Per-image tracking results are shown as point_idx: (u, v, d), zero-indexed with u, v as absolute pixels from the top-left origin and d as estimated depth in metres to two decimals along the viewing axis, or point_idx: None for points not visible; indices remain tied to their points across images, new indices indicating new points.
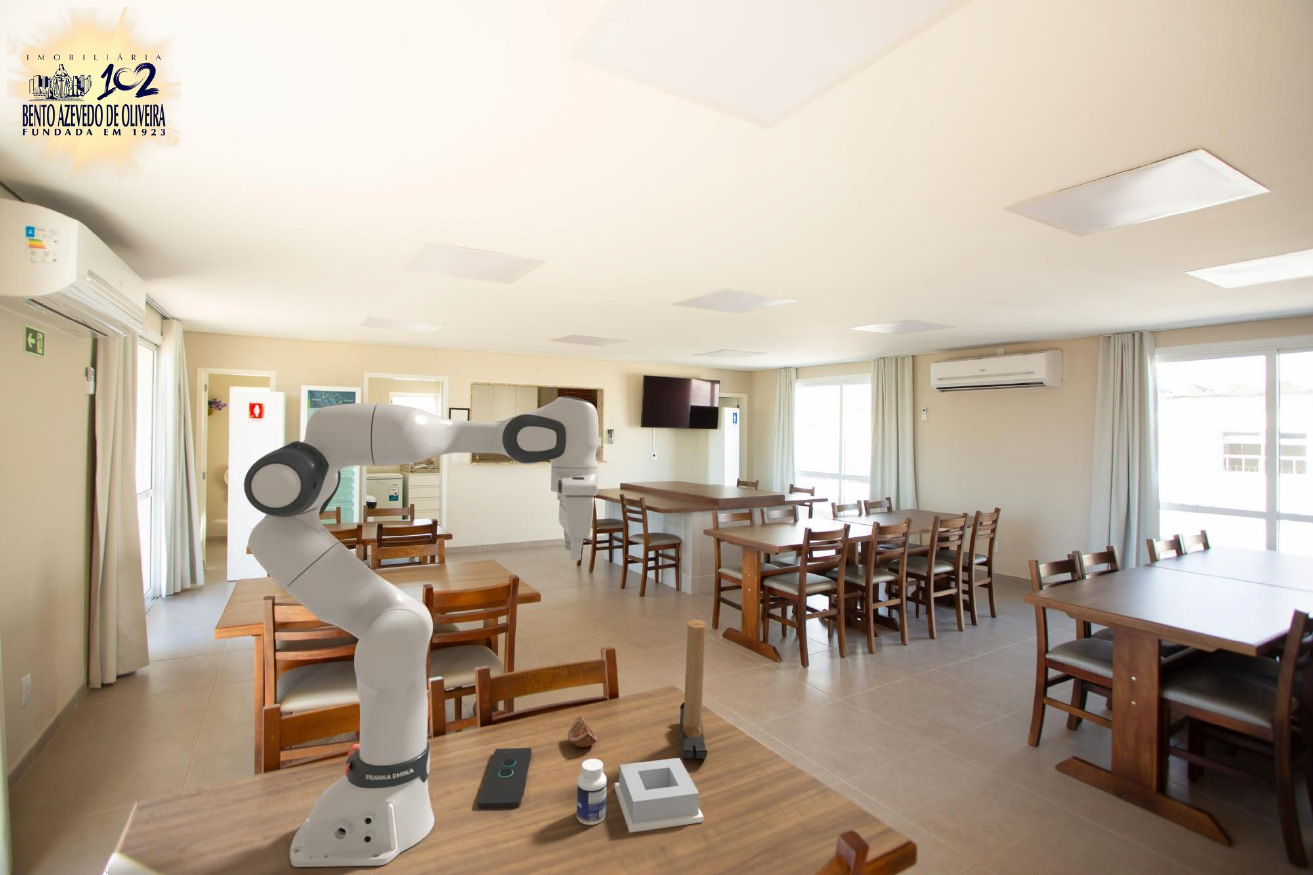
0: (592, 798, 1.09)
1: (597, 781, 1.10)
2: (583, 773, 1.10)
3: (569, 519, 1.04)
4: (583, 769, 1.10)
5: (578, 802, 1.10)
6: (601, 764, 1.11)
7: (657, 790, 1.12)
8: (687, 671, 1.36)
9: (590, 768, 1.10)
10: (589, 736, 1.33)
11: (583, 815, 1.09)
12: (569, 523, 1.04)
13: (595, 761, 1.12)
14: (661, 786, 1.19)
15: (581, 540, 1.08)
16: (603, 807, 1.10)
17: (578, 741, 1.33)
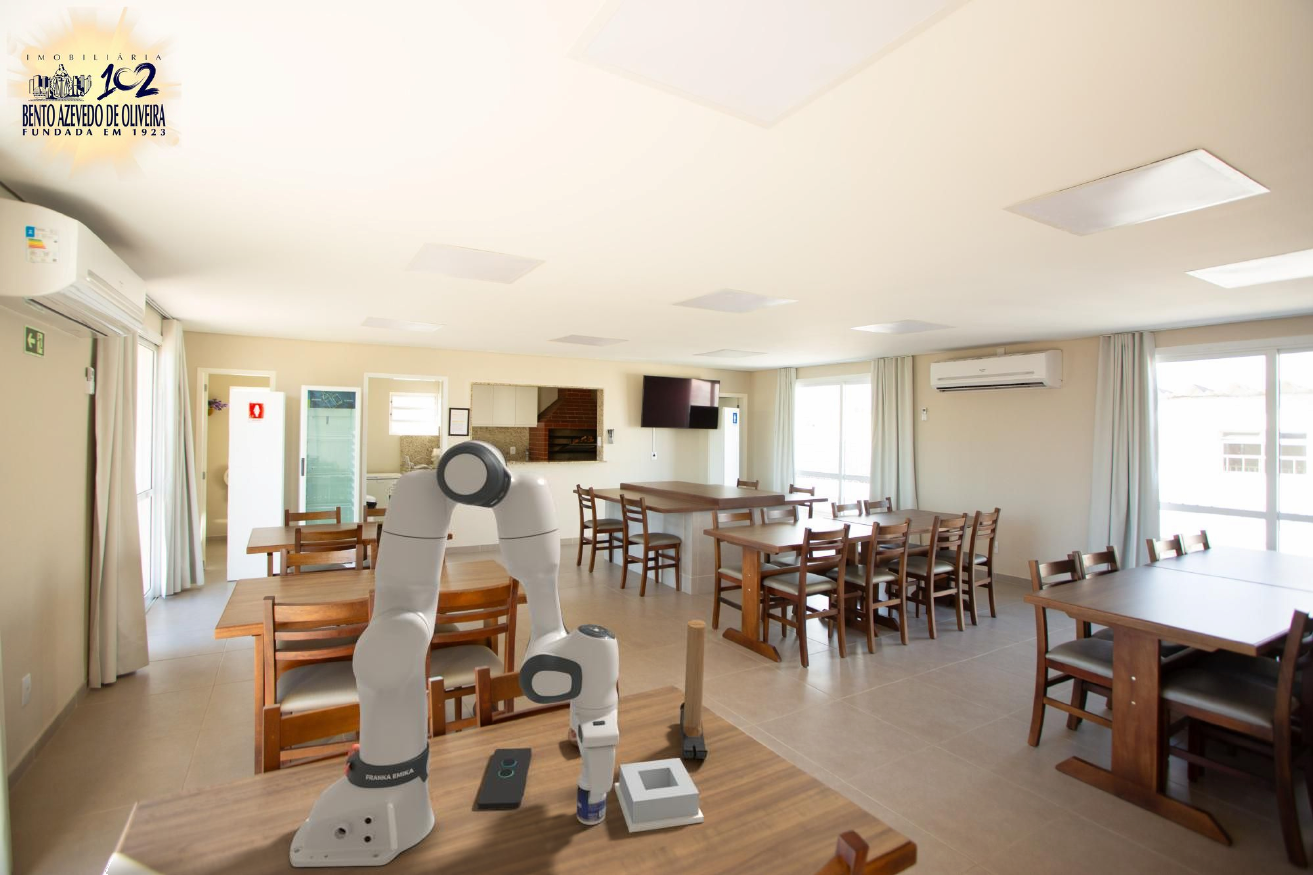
0: None
1: None
2: (583, 773, 1.10)
3: (590, 775, 1.02)
4: (583, 769, 1.10)
5: (578, 802, 1.10)
6: None
7: (657, 790, 1.12)
8: (687, 671, 1.36)
9: None
10: None
11: (583, 815, 1.09)
12: (590, 779, 1.01)
13: None
14: (661, 786, 1.19)
15: None
16: (603, 807, 1.10)
17: None
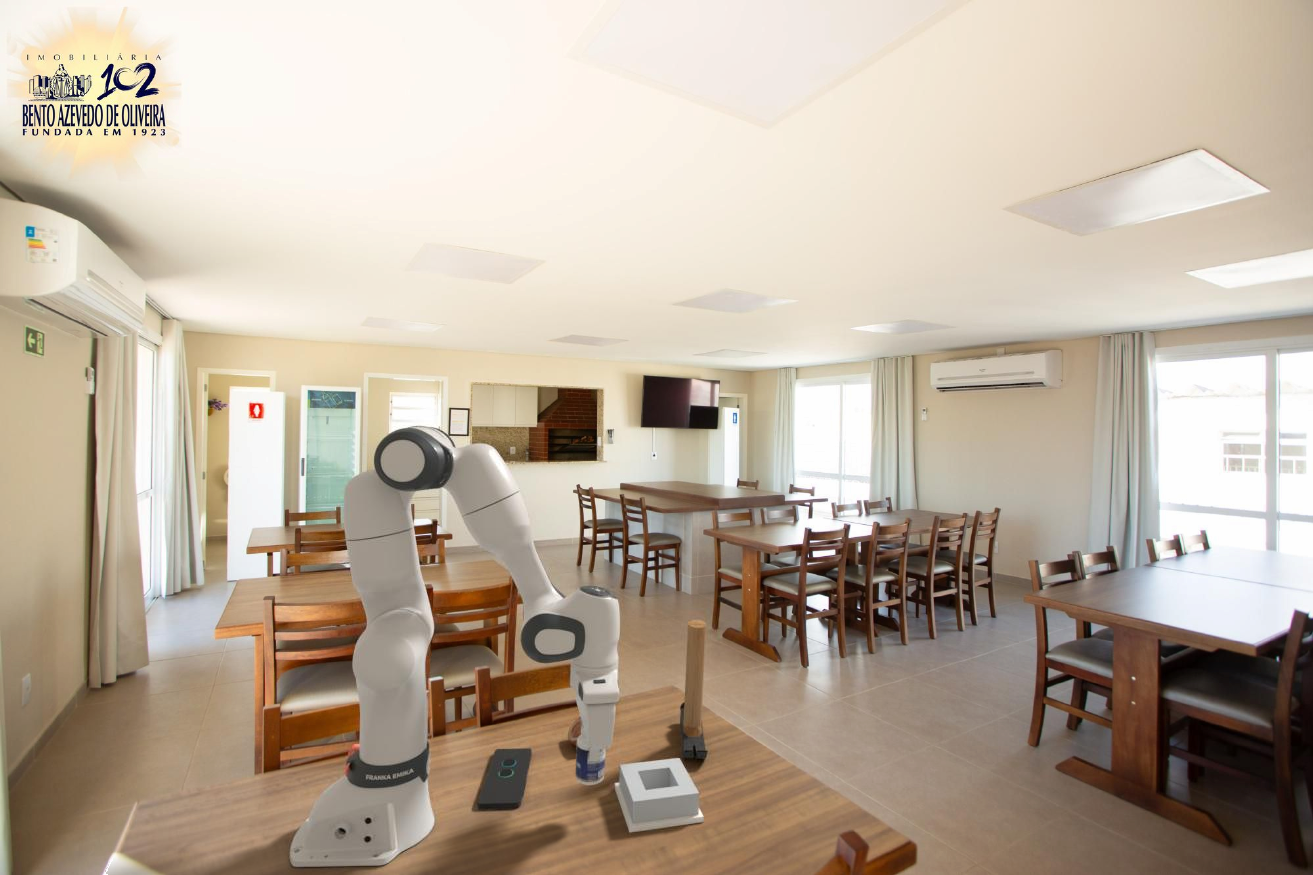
0: None
1: None
2: (582, 733, 1.10)
3: (590, 732, 1.02)
4: (583, 729, 1.10)
5: (577, 762, 1.10)
6: None
7: (657, 790, 1.12)
8: (687, 671, 1.36)
9: None
10: None
11: (582, 776, 1.09)
12: (590, 736, 1.01)
13: None
14: (661, 786, 1.19)
15: None
16: (602, 768, 1.10)
17: None
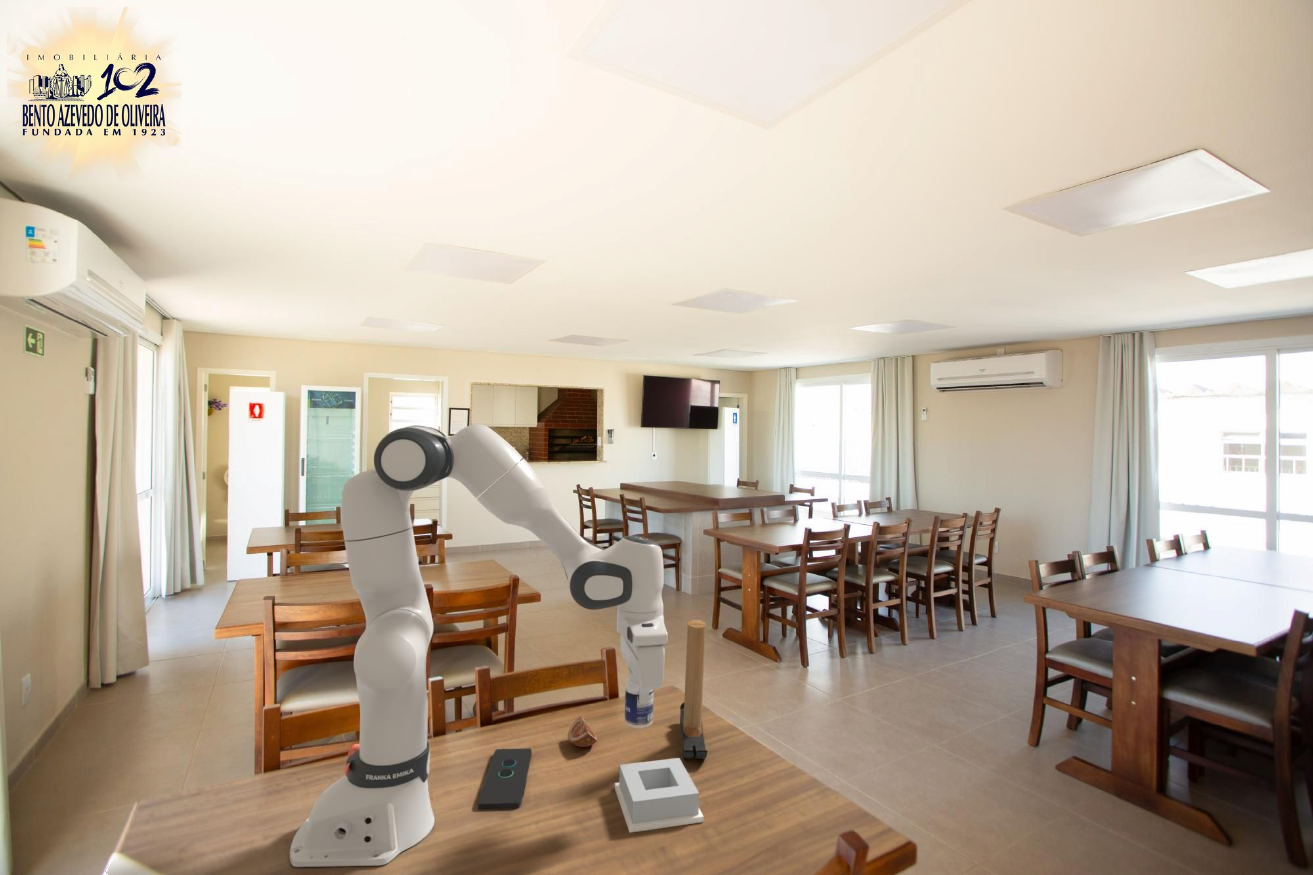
0: None
1: None
2: (631, 679, 1.13)
3: (641, 672, 1.04)
4: (631, 675, 1.13)
5: (626, 707, 1.13)
6: None
7: (657, 790, 1.12)
8: (687, 671, 1.36)
9: None
10: (589, 736, 1.33)
11: (632, 719, 1.12)
12: (642, 676, 1.04)
13: None
14: (661, 786, 1.19)
15: None
16: (651, 712, 1.13)
17: (578, 741, 1.33)
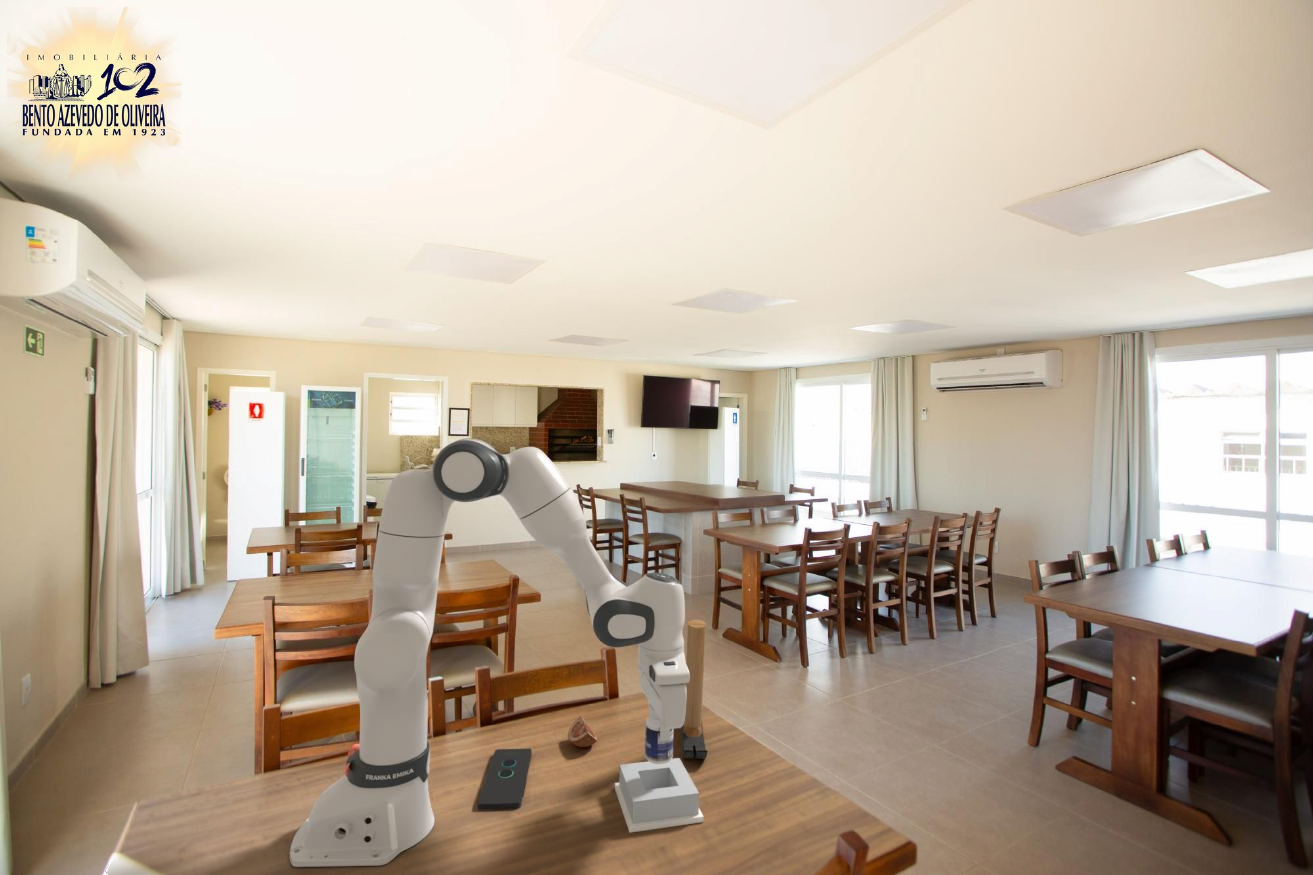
0: None
1: None
2: (652, 715, 1.15)
3: (664, 711, 1.06)
4: (652, 711, 1.15)
5: (647, 743, 1.14)
6: None
7: (657, 790, 1.12)
8: None
9: None
10: (589, 736, 1.33)
11: (652, 755, 1.13)
12: (664, 715, 1.06)
13: None
14: (661, 786, 1.19)
15: None
16: (671, 747, 1.15)
17: (578, 741, 1.33)
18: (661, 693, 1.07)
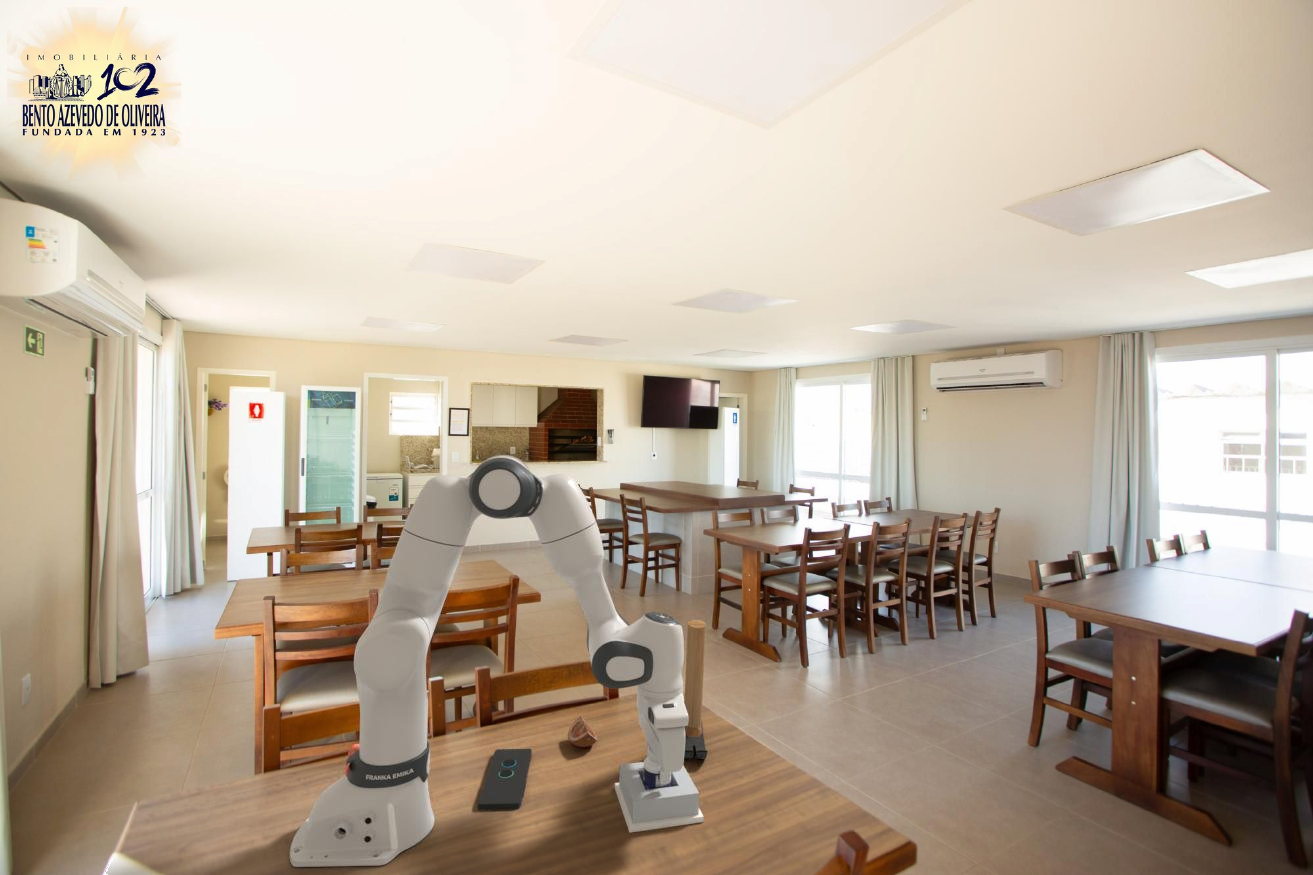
0: None
1: None
2: (650, 757, 1.14)
3: (663, 755, 1.06)
4: (650, 753, 1.14)
5: (645, 785, 1.14)
6: None
7: (657, 790, 1.12)
8: (687, 671, 1.36)
9: None
10: (589, 736, 1.33)
11: None
12: (663, 759, 1.06)
13: None
14: None
15: None
16: None
17: (578, 741, 1.33)
18: (660, 737, 1.07)
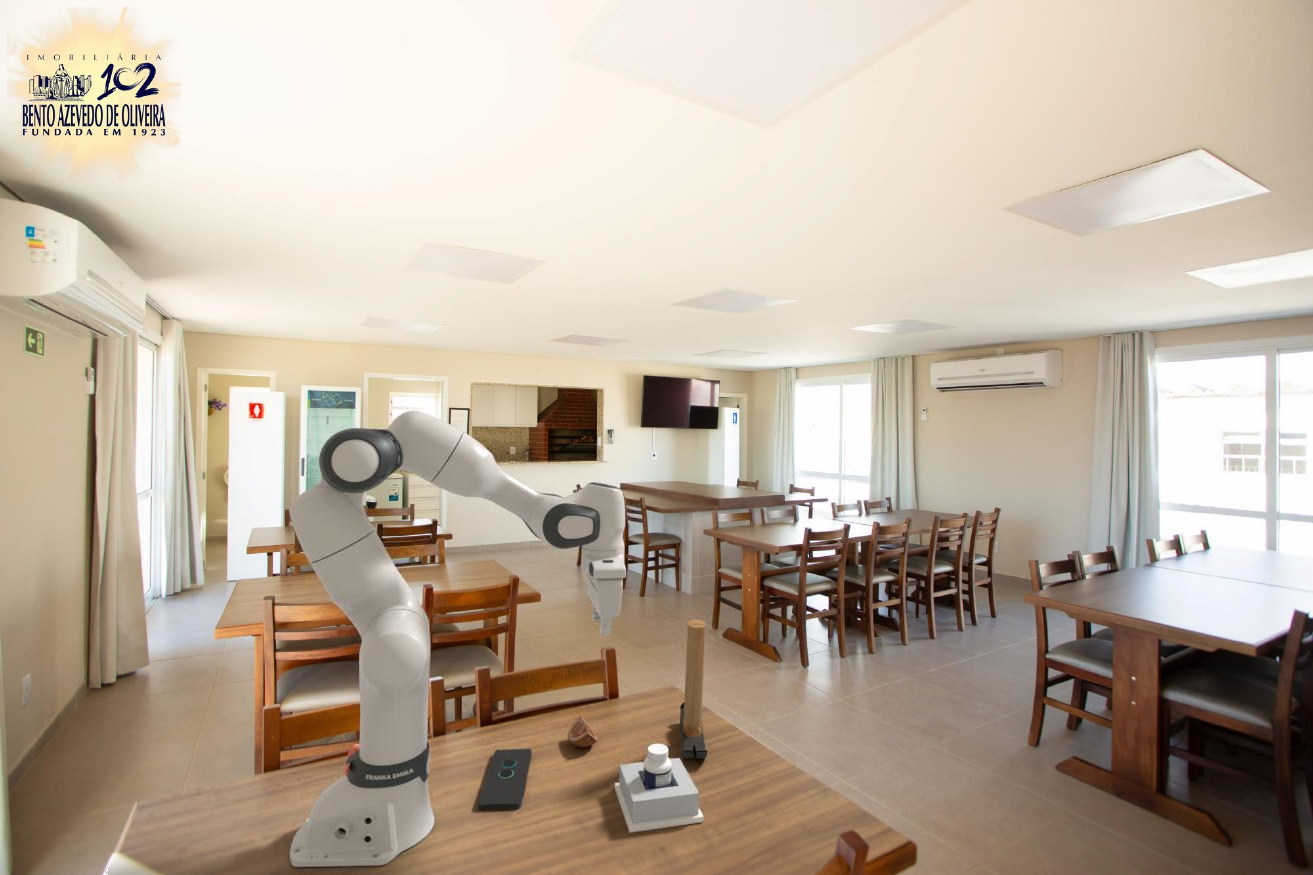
0: (659, 781, 1.13)
1: (663, 764, 1.14)
2: (650, 757, 1.14)
3: (600, 602, 1.14)
4: (650, 753, 1.14)
5: (645, 785, 1.14)
6: (666, 748, 1.16)
7: (657, 790, 1.12)
8: (687, 671, 1.36)
9: (657, 752, 1.14)
10: (589, 736, 1.33)
11: None
12: (600, 605, 1.14)
13: (659, 745, 1.17)
14: None
15: (610, 618, 1.18)
16: None
17: (578, 741, 1.33)
18: (598, 586, 1.15)
